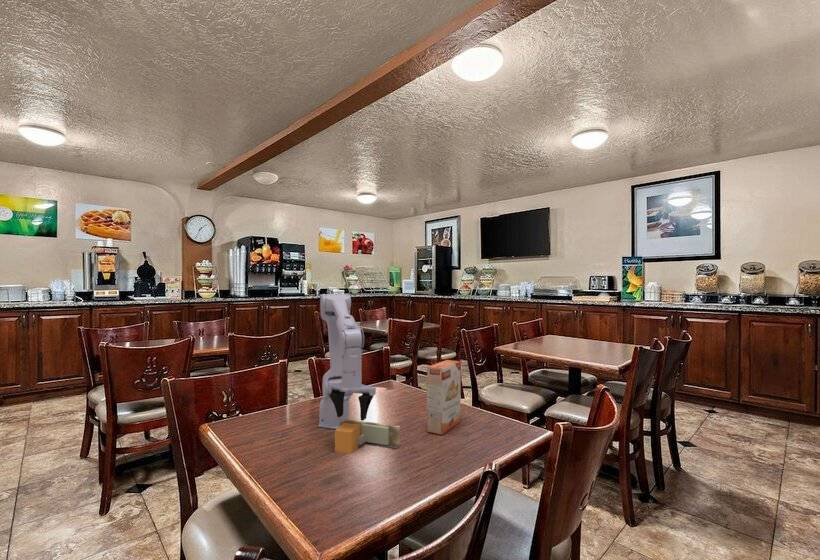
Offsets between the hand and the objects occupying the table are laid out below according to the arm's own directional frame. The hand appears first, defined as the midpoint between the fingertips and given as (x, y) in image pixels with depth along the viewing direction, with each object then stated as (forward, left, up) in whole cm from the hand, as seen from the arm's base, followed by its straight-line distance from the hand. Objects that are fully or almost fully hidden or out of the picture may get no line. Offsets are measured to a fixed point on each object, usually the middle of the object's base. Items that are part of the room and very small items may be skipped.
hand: (351, 417), depth 110 cm
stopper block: (-1, -1, -9) cm, 9 cm away
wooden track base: (+3, +4, -8) cm, 10 cm away
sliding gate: (+6, +2, -8) cm, 10 cm away
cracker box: (+21, +24, -9) cm, 33 cm away
